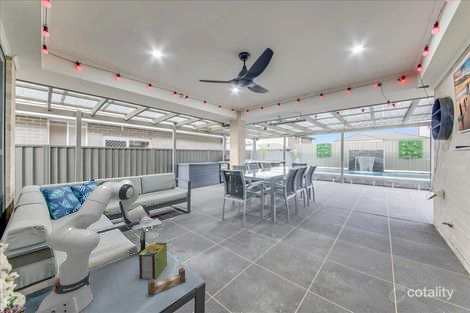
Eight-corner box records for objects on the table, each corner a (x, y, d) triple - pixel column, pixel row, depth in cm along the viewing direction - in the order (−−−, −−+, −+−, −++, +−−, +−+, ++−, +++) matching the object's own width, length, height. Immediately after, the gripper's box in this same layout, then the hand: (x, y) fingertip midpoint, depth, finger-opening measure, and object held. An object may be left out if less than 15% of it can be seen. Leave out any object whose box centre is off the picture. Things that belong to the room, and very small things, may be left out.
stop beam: (148, 296, 97) (148, 284, 96) (147, 291, 100) (147, 279, 100) (185, 281, 108) (185, 270, 108) (183, 277, 111) (182, 266, 111)
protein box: (167, 264, 124) (166, 242, 124) (155, 280, 109) (154, 255, 108) (152, 263, 125) (152, 241, 125) (138, 279, 110) (138, 254, 109)
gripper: (131, 223, 137) (132, 230, 126) (159, 217, 148) (163, 223, 137) (131, 231, 137) (132, 238, 126) (159, 225, 149) (163, 231, 137)
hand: (149, 230), depth 131 cm, fingers closed
